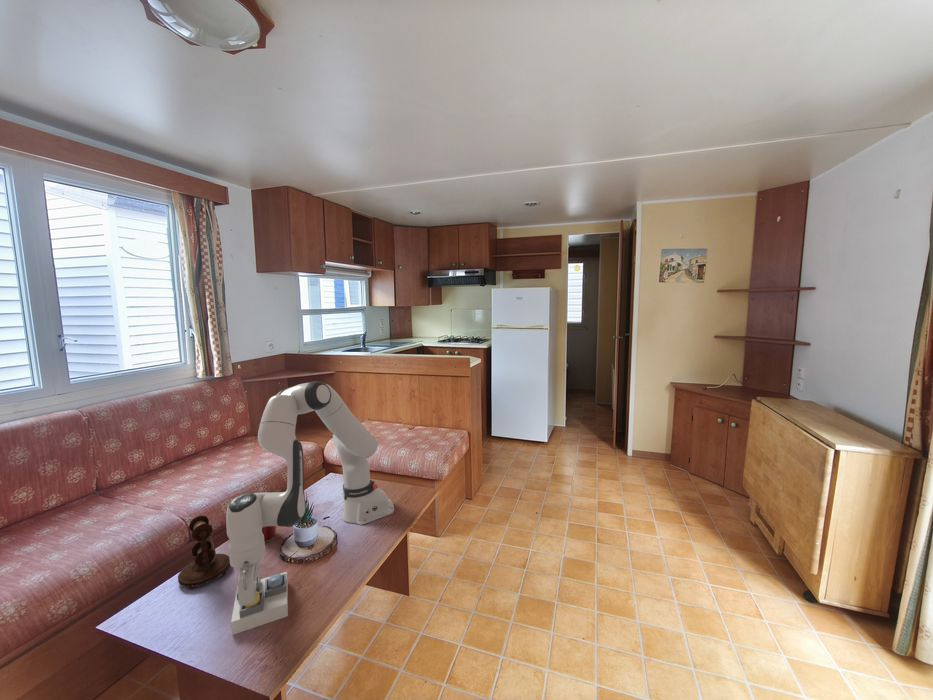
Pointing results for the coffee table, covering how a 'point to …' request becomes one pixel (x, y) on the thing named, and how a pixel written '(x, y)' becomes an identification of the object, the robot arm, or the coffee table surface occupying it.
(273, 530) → the soda can
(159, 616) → the coffee table surface
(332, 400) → the robot arm
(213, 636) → the coffee table surface
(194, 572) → the brown spool stand
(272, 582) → the slate button
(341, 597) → the coffee table surface
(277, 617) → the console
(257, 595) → the ochre button
